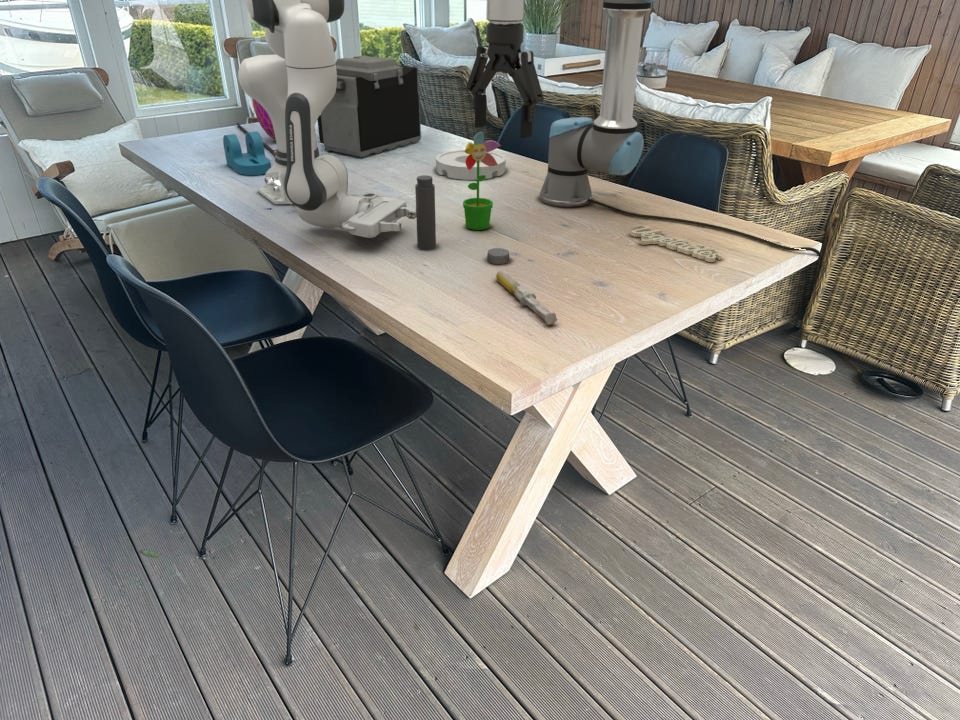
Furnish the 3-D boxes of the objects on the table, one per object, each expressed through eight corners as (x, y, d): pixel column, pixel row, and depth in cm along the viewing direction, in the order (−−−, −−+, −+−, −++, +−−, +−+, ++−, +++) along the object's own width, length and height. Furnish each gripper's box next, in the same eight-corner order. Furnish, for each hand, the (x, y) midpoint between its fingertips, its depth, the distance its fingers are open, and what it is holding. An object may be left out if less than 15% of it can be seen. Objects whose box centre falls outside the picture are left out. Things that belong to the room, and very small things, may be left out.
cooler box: (383, 133, 276) (378, 52, 261) (425, 141, 265) (422, 56, 250) (314, 150, 251) (304, 61, 235) (358, 160, 240) (350, 67, 224)
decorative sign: (617, 232, 177) (640, 223, 183) (616, 235, 177) (640, 227, 183) (706, 262, 160) (729, 252, 166) (705, 266, 160) (728, 255, 166)
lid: (495, 266, 160) (495, 257, 158) (482, 259, 163) (483, 250, 162) (513, 261, 162) (513, 253, 161) (500, 254, 166) (501, 246, 165)
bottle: (420, 242, 172) (418, 174, 163) (438, 244, 171) (436, 175, 163) (415, 249, 168) (412, 179, 160) (433, 250, 167) (431, 180, 159)
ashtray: (439, 160, 240) (438, 148, 238) (505, 161, 240) (505, 150, 238) (433, 179, 220) (432, 166, 218) (505, 180, 220) (505, 168, 218)
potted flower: (469, 233, 178) (469, 134, 165) (456, 224, 184) (455, 127, 171) (501, 228, 181) (503, 130, 169) (487, 219, 187) (488, 124, 175)
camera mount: (227, 164, 233) (221, 132, 227) (257, 160, 238) (252, 129, 233) (244, 176, 220) (239, 143, 215) (276, 172, 225) (271, 139, 220)
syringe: (491, 278, 153) (492, 266, 152) (507, 275, 154) (507, 264, 153) (540, 327, 133) (541, 315, 132) (557, 324, 134) (558, 312, 133)
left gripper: (336, 214, 162) (389, 221, 158) (375, 190, 179) (423, 196, 175) (338, 240, 166) (390, 247, 162) (376, 214, 182) (424, 220, 178)
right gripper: (565, 25, 132) (558, 138, 143) (475, 17, 147) (474, 120, 158) (539, 28, 127) (534, 144, 138) (449, 19, 142) (450, 124, 153)
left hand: (408, 220), depth 169 cm, fingers open, 8 cm apart
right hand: (502, 131), depth 148 cm, fingers open, 13 cm apart
